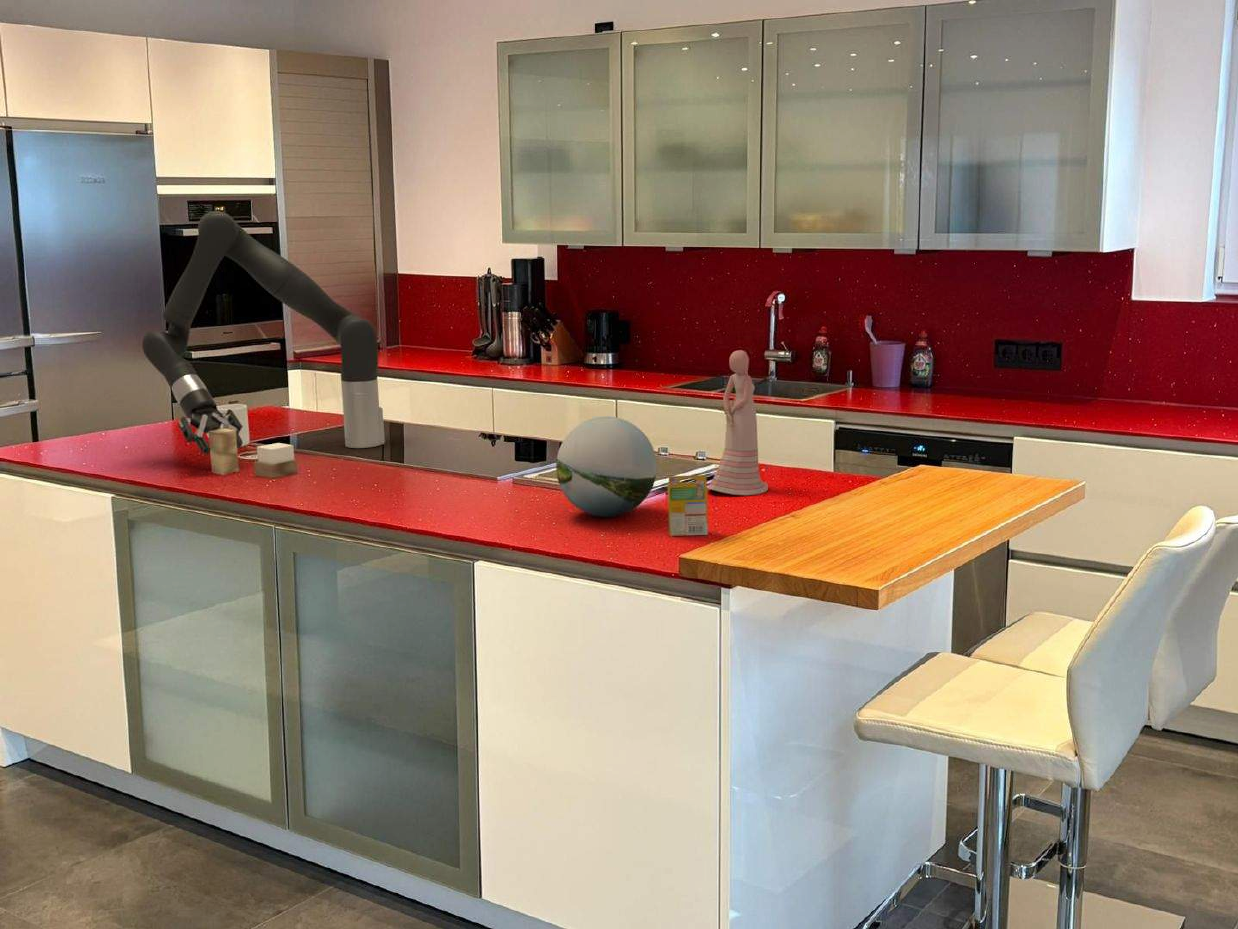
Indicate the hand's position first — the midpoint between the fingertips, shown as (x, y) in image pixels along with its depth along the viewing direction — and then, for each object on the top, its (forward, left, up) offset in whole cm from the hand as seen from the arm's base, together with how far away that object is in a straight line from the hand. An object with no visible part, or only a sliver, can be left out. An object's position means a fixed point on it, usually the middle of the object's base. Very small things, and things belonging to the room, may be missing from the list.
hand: (224, 449), depth 322 cm
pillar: (0, 0, -6) cm, 6 cm away
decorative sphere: (-39, +98, -6) cm, 105 cm away
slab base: (-8, +11, -6) cm, 15 cm away
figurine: (-73, +100, -6) cm, 124 cm away
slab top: (-8, +11, -2) cm, 14 cm away
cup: (-14, -32, -6) cm, 36 cm away
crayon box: (-41, +120, -6) cm, 127 cm away
